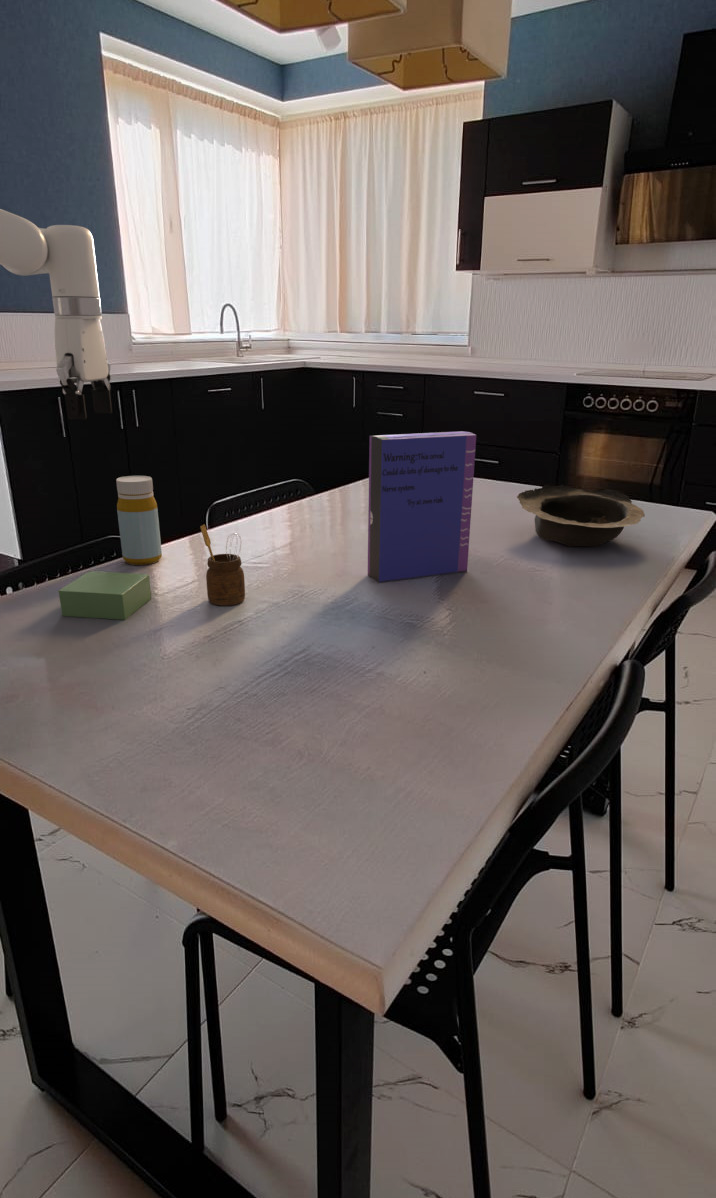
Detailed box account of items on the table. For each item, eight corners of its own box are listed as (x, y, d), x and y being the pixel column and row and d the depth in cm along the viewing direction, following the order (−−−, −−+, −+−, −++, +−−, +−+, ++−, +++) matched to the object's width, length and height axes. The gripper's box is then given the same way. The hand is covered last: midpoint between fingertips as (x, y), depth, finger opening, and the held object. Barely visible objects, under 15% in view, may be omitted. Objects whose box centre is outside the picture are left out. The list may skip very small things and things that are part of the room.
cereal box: (453, 564, 142) (461, 430, 132) (467, 571, 138) (476, 433, 128) (367, 574, 136) (369, 434, 126) (378, 582, 131) (381, 438, 122)
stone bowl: (554, 517, 176) (561, 476, 172) (657, 546, 161) (668, 502, 157) (491, 534, 160) (498, 490, 156) (600, 568, 144) (611, 520, 140)
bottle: (157, 553, 147) (149, 474, 141) (166, 562, 141) (158, 480, 135) (120, 557, 144) (110, 476, 138) (127, 567, 138) (117, 483, 132)
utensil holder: (238, 608, 119) (234, 532, 114) (200, 605, 120) (194, 529, 116) (250, 596, 125) (247, 523, 120) (214, 593, 126) (209, 520, 121)
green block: (62, 616, 115) (58, 590, 114) (92, 594, 124) (89, 571, 123) (125, 620, 114) (122, 594, 112) (151, 598, 123) (149, 574, 122)
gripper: (81, 310, 137) (93, 410, 144) (29, 308, 121) (45, 421, 128) (121, 310, 136) (131, 411, 143) (73, 309, 120) (88, 422, 127)
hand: (90, 416), depth 136 cm, fingers open, 9 cm apart
